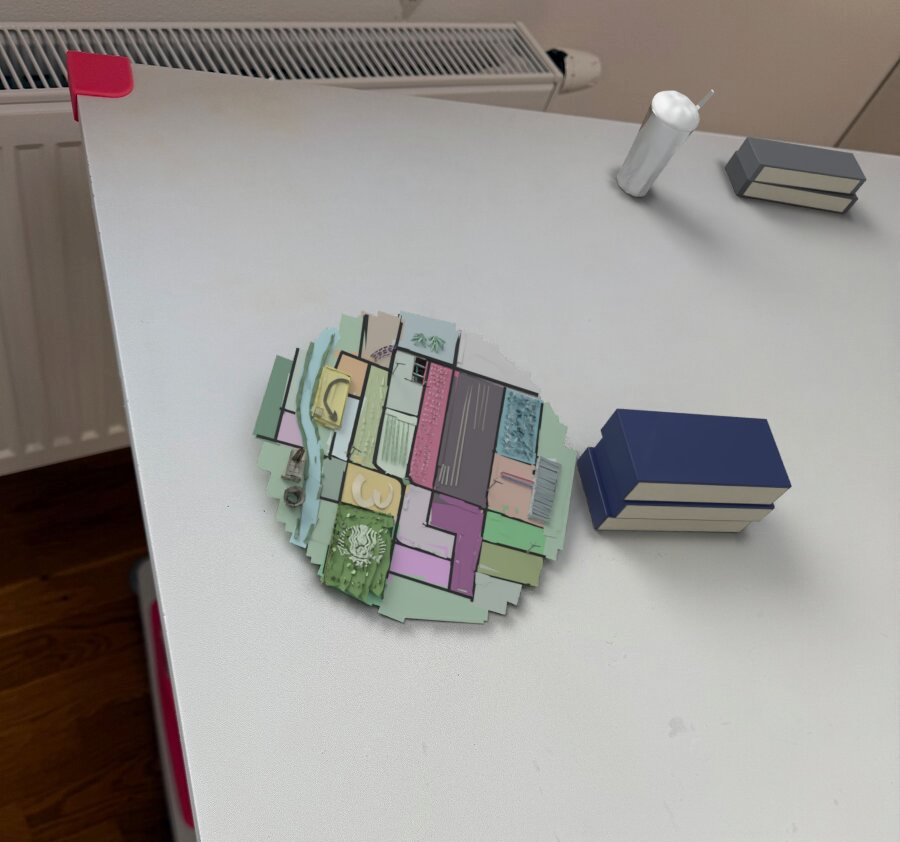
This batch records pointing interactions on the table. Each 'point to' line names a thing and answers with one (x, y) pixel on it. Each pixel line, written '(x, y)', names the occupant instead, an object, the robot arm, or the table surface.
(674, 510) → the navy stack
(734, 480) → the navy book
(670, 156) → the milkshake
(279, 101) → the table surface
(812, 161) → the grey stack
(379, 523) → the city model
